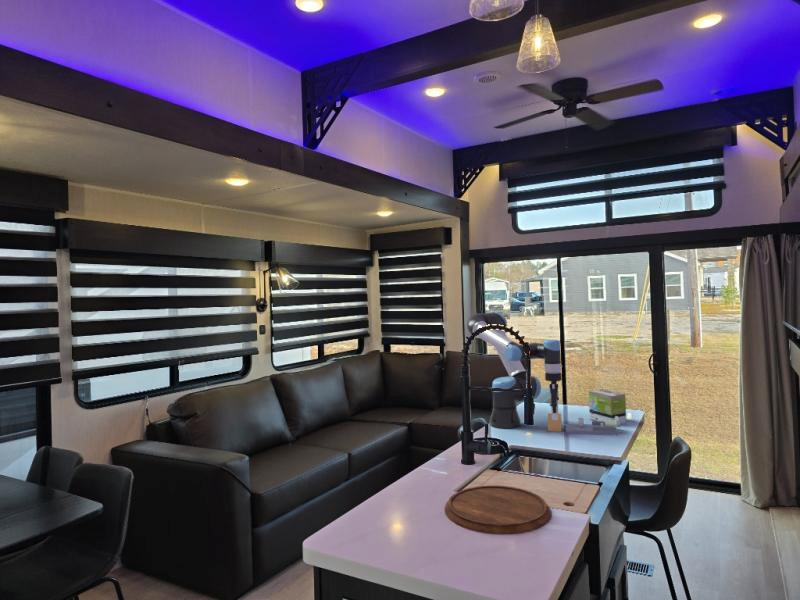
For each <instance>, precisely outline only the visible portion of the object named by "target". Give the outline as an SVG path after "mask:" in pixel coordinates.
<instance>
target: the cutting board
mask: <svg viewBox="0 0 800 600" xmlns="http://www.w3.org/2000/svg"><path fill="white" fill-rule="evenodd" d="M444 514H445V516H446V517H447V518H448V519H449V521H451V522H452V523H454V524H455V525H457V526H459V527H461V528H463V529H465V530H466V529H467V530H469V531H473V532H478V533H483V534H491V535H492V534H493V535H515V534H523V533H527V532H532V531H535V530H537V529H540V528H542V527H544V526H545V525H547V524H548V522H550V520H551V518H552V511H551V508H550V506H549V505H548V503H547V502H546V500H545V499H544V498H542V497H541V496H540V495H538V494H536V493H535V492H532V491H529V490H526V489H523V488H519V487H513V486H507V485H478V486H472V487H469V488H467V487H466V488H464V489H462V490H459V491H457V492H455V493H454V494H452V495H451V496H450V497H449V499H448V500H447V502H446V503H445V505H444Z"/></svg>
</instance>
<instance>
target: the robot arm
mask: <svg viewBox="0 0 800 600" xmlns="http://www.w3.org/2000/svg"><path fill="white" fill-rule="evenodd" d="M488 324H500V325H506V326H507V327H508V321H507V319H506V317H505V316H504V314H502V313H500V312H487V313H485V312H484V313H483V312H482V313H475V314H473V315H470V317H469V318H468V319H467V321H466V328H467V331H468V333H469V334H470V335H472V334H471V333H473V332H474V331H476V330H478V329H479V328H482V327H485V326H486V325H488ZM475 338H477V339H481V340H483V341H484V342H486V343H487V344H489V345H491V346H493V348H495V350H496V353H497V354H498V356H499V359H500V361H501V362H502V364H503V366H504V367H505V370H506V372H507V374H508V376H501V377H497V378H495V379H494V380H493V381H492V384H491V386H492V387H491V389H492V388H506V389H524V388H526V370H527V369H525V368H524V365H523V364H522V362H521V361H526V360H525V353H524V350H523V347H522V345H523V344H519V343H517V342H515V341H513V340H512V339H510V338H509V337H508V335H507V332H505V331H501V330H486V331H484V332H482V333H480V334H479V335H477V336H476V337H475ZM528 344H529V345H530V348H531V351H530V359H529V360H535V359H538V360H540V359H542V360H544V372H545V373H544V378H545V379H544V380H545V381H546V382H550V383H549V386H548V387H549V392H550V393H549V394H550V403H549V406H550V407H551V410H550V411H551V414H552V420H558V414H559V400H560V397H559V396H558V392H559V384H558V383H557V382H561V381H562V380H563V377H562V375H563V374H562V368H563V365H562V364H561V363H562V362H561V361H562V360H561V359H562V356H561V342H560V340H558V339H545V340H544V341H543V343H540V342H538V343H537V342H529V343H528ZM531 386H532V389H533V400H536V399H538V398H539V396H540V394H541V392H542V391H541V390H542V384H541V381H540V379H539V378H538V377H536V376H533V375H531ZM491 391H492V390H491ZM521 402H525V401H524V395H523V394H522V393H521V392H512V391H492V411H491V415H490V418H489V425H490V426H491V427H493V428H497V429H516V428H519V427H520V426H521V424H522V423H521V418H520V415H519V413H518V409H517V408H518V407H517V403H521Z"/></svg>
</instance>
